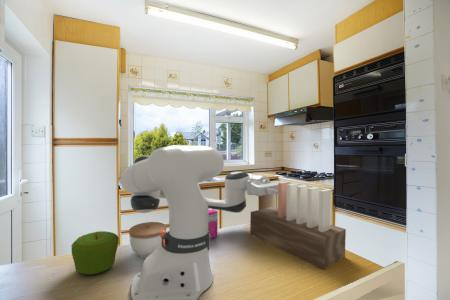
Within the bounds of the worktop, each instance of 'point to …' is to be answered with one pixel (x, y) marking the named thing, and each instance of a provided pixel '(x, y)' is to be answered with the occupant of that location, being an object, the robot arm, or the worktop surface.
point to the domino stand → (299, 238)
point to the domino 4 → (312, 207)
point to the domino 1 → (282, 199)
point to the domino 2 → (291, 201)
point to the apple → (95, 252)
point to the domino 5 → (324, 210)
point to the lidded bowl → (146, 238)
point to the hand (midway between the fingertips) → (285, 191)
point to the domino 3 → (301, 204)
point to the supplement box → (212, 223)
